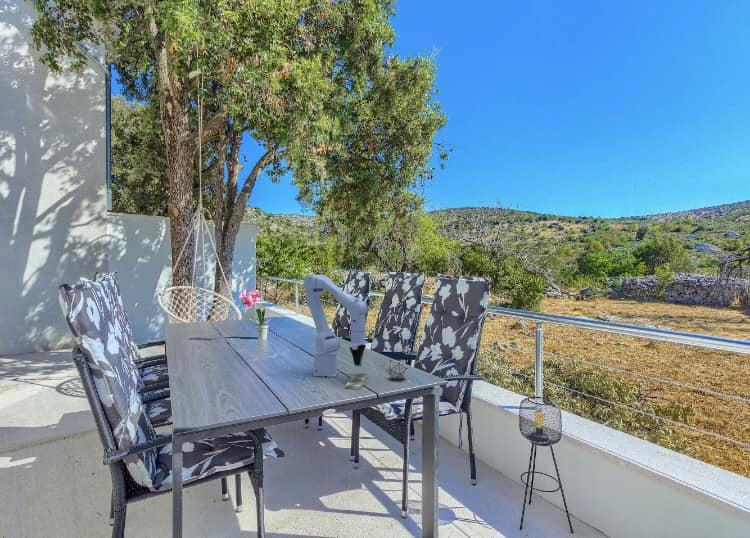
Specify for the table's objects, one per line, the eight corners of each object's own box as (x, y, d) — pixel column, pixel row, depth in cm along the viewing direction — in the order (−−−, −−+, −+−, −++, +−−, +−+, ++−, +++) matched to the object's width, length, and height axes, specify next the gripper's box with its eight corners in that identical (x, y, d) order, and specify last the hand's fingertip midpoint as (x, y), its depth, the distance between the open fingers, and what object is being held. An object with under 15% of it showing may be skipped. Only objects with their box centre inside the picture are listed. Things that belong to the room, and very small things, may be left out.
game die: (400, 389, 165) (405, 373, 159) (381, 380, 167) (386, 365, 161) (406, 373, 172) (412, 358, 166) (388, 365, 174) (393, 350, 168)
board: (344, 388, 153) (344, 385, 153) (353, 375, 171) (353, 373, 171) (359, 389, 152) (359, 386, 152) (367, 376, 170) (367, 373, 170)
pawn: (353, 366, 163) (353, 349, 163) (355, 364, 166) (355, 348, 166) (360, 366, 162) (360, 350, 162) (362, 365, 165) (362, 348, 165)
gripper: (364, 333, 156) (364, 368, 156) (370, 328, 170) (370, 359, 170) (346, 333, 157) (346, 367, 157) (354, 327, 171) (354, 359, 171)
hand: (357, 363), depth 164 cm, fingers closed on pawn, 3 cm apart
